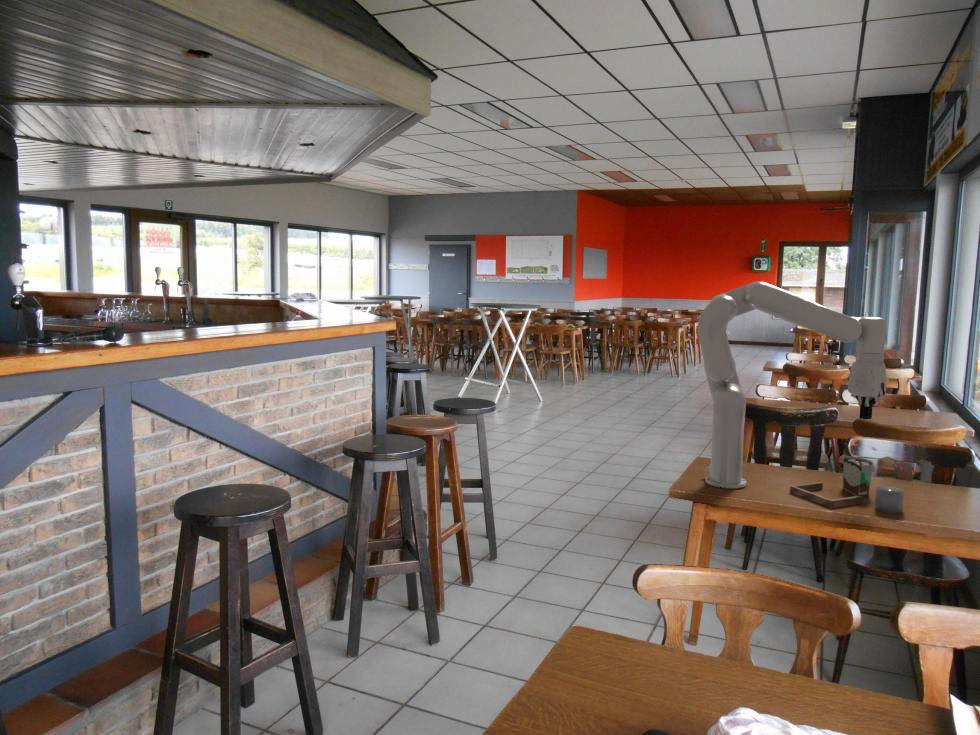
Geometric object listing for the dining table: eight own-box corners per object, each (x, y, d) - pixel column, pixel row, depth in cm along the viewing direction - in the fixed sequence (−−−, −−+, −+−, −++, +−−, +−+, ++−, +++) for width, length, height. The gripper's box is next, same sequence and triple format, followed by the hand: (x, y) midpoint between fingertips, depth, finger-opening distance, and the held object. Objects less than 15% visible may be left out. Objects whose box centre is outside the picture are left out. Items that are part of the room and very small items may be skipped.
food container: (881, 498, 216) (883, 466, 215) (860, 498, 216) (862, 466, 215) (860, 486, 229) (862, 455, 227) (840, 486, 229) (842, 455, 227)
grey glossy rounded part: (869, 507, 209) (870, 487, 208) (887, 504, 211) (888, 484, 210) (890, 515, 202) (892, 494, 201) (908, 512, 205) (910, 491, 204)
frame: (789, 492, 223) (790, 486, 222) (819, 488, 227) (820, 482, 227) (831, 508, 208) (832, 501, 208) (862, 503, 212) (863, 496, 212)
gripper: (839, 356, 223) (836, 415, 225) (881, 361, 209) (877, 424, 211) (858, 355, 225) (854, 413, 228) (900, 360, 212) (896, 422, 214)
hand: (865, 418), depth 220 cm, fingers closed
